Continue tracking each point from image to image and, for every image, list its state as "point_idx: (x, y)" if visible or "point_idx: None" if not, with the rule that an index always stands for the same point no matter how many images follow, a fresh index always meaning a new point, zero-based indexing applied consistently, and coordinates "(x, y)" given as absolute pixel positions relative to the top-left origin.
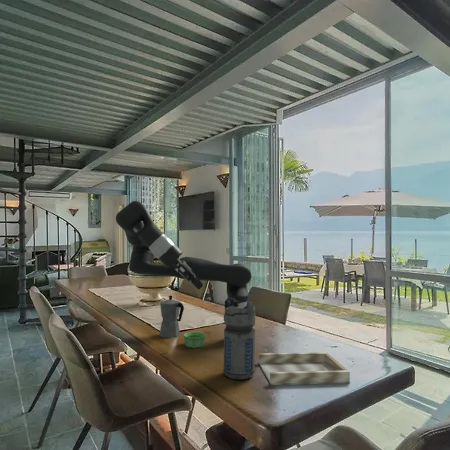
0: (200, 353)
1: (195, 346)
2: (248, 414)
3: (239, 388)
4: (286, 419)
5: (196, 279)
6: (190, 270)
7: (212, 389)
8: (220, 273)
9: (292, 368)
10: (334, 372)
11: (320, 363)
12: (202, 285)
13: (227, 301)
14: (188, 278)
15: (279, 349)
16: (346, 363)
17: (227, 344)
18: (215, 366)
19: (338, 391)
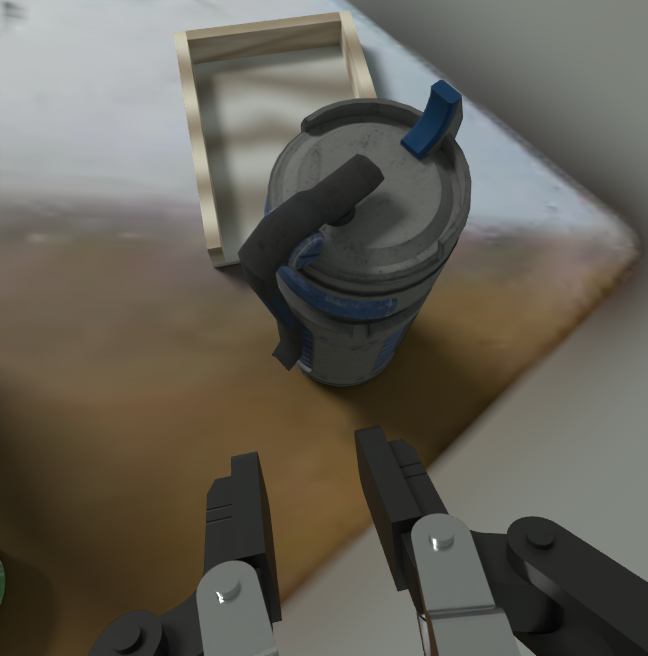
0: (97, 529)
1: (2, 575)
2: (607, 296)
3: (451, 327)
4: (600, 208)
5: (413, 504)
6: (507, 627)
7: (480, 414)
8: None
9: (267, 160)
10: (360, 46)
11: (210, 77)
12: (378, 430)
13: (306, 254)
14: (563, 613)
15: (42, 187)
16: (190, 13)
17: (395, 334)
18: (264, 431)
19: (408, 74)
